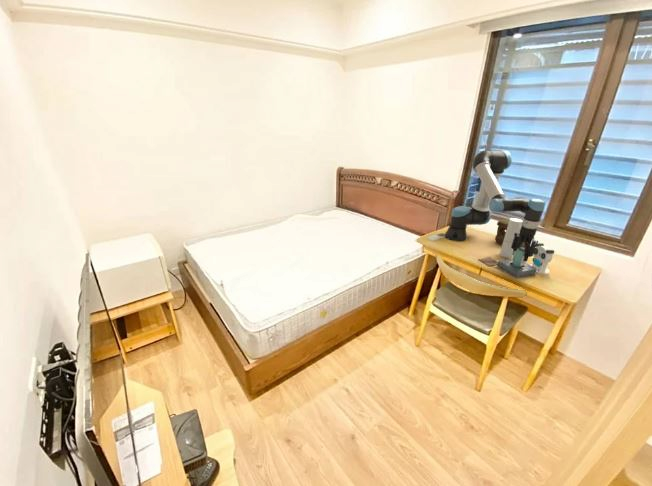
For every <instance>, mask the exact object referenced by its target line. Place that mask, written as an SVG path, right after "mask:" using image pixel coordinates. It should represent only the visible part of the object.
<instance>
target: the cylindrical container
mask: <svg viewBox="0 0 652 486" xmlns="http://www.w3.org/2000/svg"><path fill="white" fill-rule="evenodd" d="M508 220H509V223H508V227H507V230H505V232H506V234H505V237H504V241H503V244H502V245H501V247H500V248H501V249H500V252H499V255H500V256H501V257H503V258H508V259H512V258H513V255H512V254H513V251H514V250H513V249H512V248H511V246H512V243H513V240H514V234H515V233H520V229H521V226H522V223H523V220H524V219H520V218H516V217H510V218H509V219H508Z"/></svg>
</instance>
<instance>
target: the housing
mask: <svg viewBox="0 0 652 486" xmlns="http://www.w3.org/2000/svg"><path fill="white" fill-rule="evenodd" d="M497 262H498V265H496V267H497V268H499V269H500V270H502V271H503V272H505V273H506V274H509V275H510V276H511V277H513V278H515V279H519V278H524V277H530V276H535V275H536V274H537V273H536V270H537V269H536V268H534V267H533V266H531V265H529V263H527V262H525V265H524V266H522V267H520V268H517V267H515V266H513V265H512V263H513V261H512V258H508V259H503V260H498V261H497Z"/></svg>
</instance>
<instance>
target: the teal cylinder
mask: <svg viewBox="0 0 652 486" xmlns="http://www.w3.org/2000/svg"><path fill="white" fill-rule="evenodd" d="M523 255H525V248H523V247H519V248H517V250H516V253H515V257H514V260H513V263H512V265H513V266H515V267H517V268H520V267H522V266H520V263H521V260H522V257H523Z"/></svg>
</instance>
